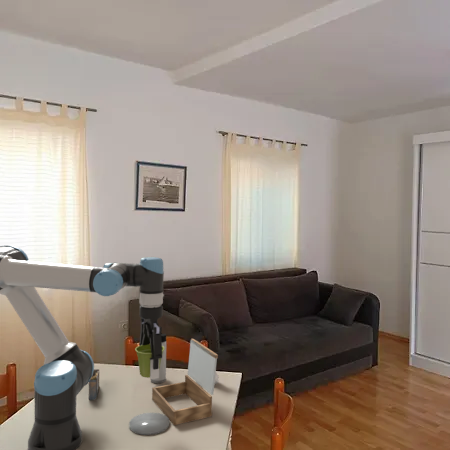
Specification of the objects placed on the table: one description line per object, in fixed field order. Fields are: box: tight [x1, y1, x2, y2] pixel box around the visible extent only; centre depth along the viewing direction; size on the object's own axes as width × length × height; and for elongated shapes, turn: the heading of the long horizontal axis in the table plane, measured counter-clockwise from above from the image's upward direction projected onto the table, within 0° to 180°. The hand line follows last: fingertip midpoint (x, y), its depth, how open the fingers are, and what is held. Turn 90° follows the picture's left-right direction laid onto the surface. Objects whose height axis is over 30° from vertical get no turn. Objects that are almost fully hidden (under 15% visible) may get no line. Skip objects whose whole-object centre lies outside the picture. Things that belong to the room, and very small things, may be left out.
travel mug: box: [150, 332, 167, 384], centre depth 181 cm, size 6×7×20 cm
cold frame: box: [151, 374, 213, 426], centre depth 157 cm, size 14×22×7 cm, turn 28°
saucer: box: [128, 412, 170, 436], centre depth 145 cm, size 13×13×1 cm
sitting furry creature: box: [195, 371, 220, 387], centre depth 180 cm, size 10×9×12 cm
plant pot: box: [134, 344, 165, 379], centre depth 144 cm, size 9×9×9 cm
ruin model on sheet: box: [88, 368, 100, 400], centre depth 168 cm, size 11×3×10 cm, turn 10°
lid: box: [187, 338, 219, 396], centre depth 161 cm, size 14×21×1 cm
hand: (149, 373), depth 144 cm, fingers closed on plant pot, 8 cm apart
